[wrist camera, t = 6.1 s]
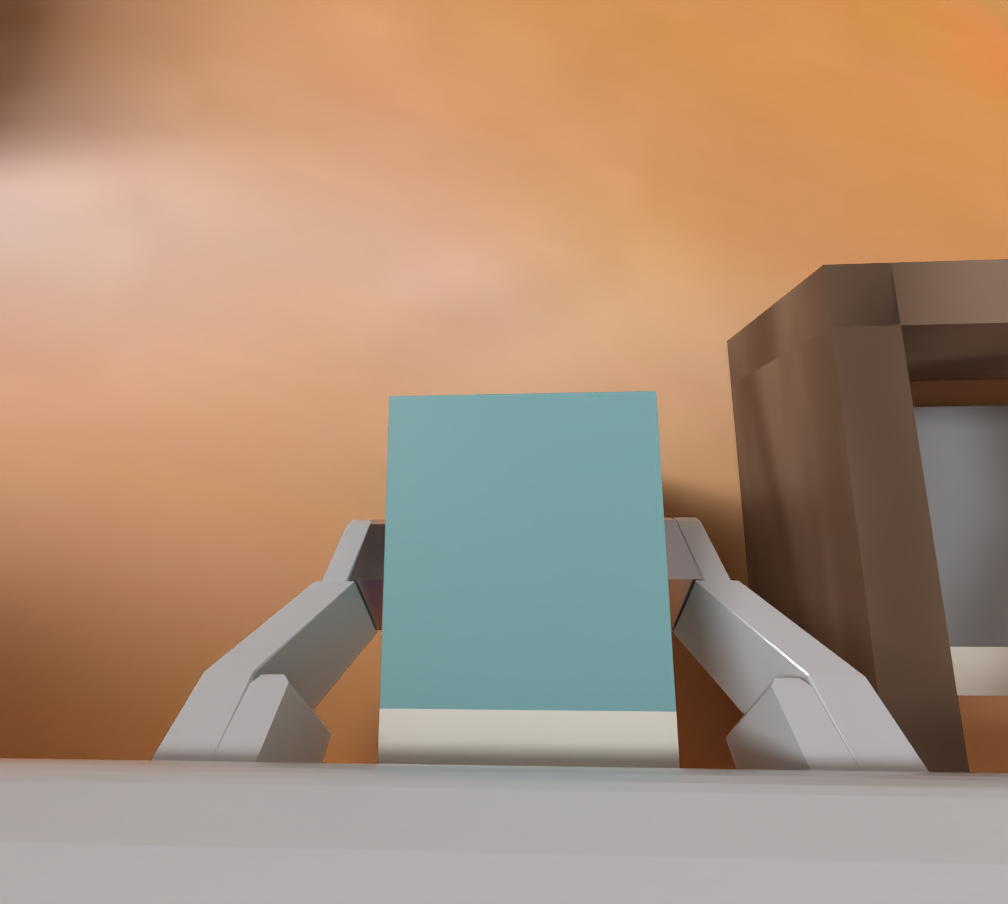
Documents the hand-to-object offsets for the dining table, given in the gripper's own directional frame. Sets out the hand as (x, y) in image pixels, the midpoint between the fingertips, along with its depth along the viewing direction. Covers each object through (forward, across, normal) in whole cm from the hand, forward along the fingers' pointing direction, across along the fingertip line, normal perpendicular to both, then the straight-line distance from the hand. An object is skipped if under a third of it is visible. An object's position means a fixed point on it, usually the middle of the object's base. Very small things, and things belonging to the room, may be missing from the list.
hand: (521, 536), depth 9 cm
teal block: (+3, 0, +4) cm, 4 cm away
